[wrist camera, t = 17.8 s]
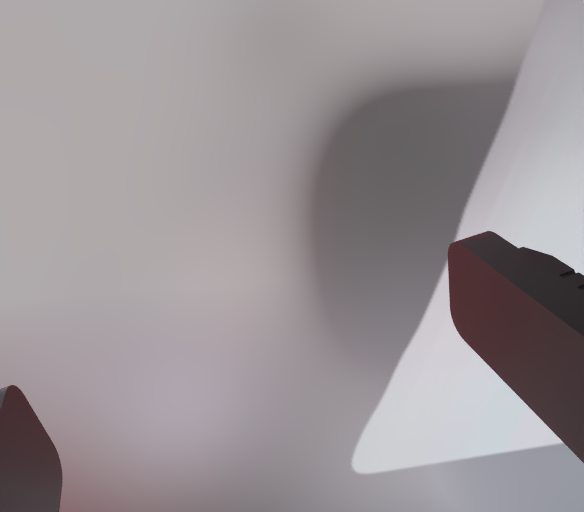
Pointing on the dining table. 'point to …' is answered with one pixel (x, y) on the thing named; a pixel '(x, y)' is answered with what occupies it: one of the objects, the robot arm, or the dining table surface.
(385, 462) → the dining table surface
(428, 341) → the dining table surface
